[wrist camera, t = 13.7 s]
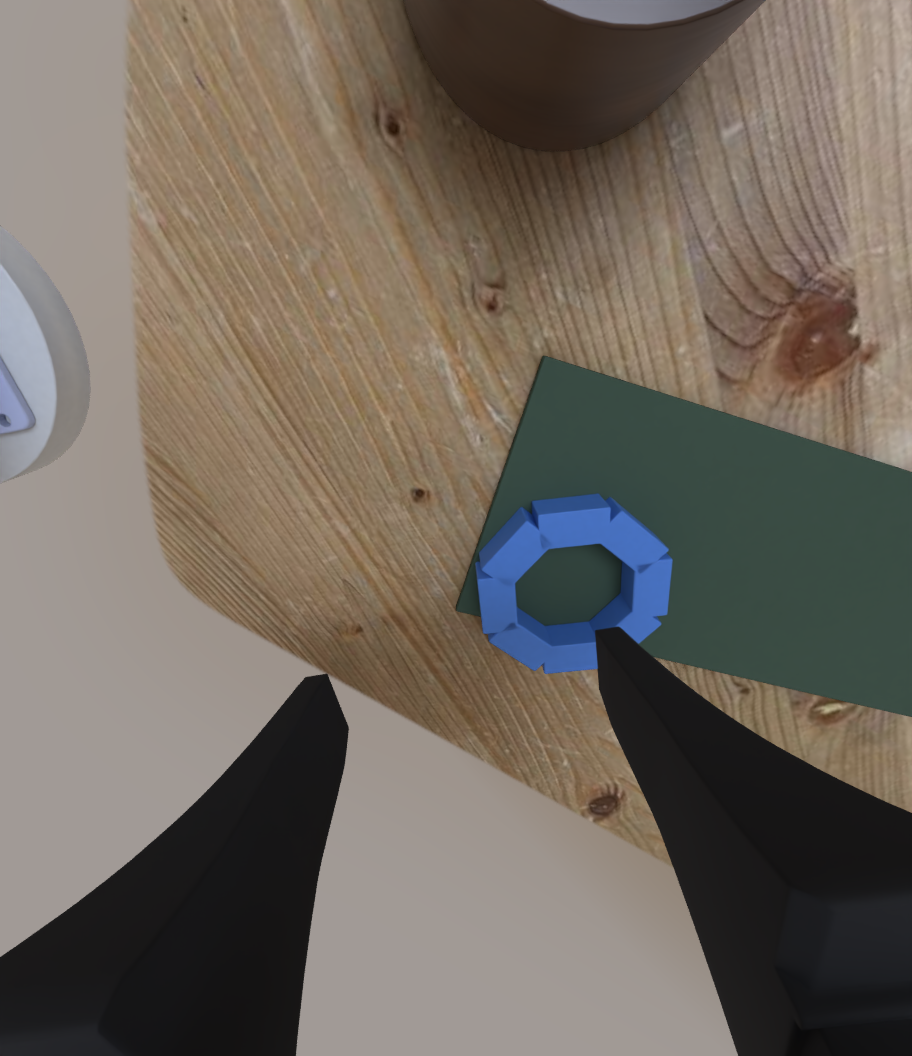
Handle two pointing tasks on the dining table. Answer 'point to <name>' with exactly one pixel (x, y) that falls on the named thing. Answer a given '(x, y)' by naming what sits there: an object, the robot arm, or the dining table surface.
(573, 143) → the platform
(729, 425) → the mat
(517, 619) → the ring
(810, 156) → the dining table surface
